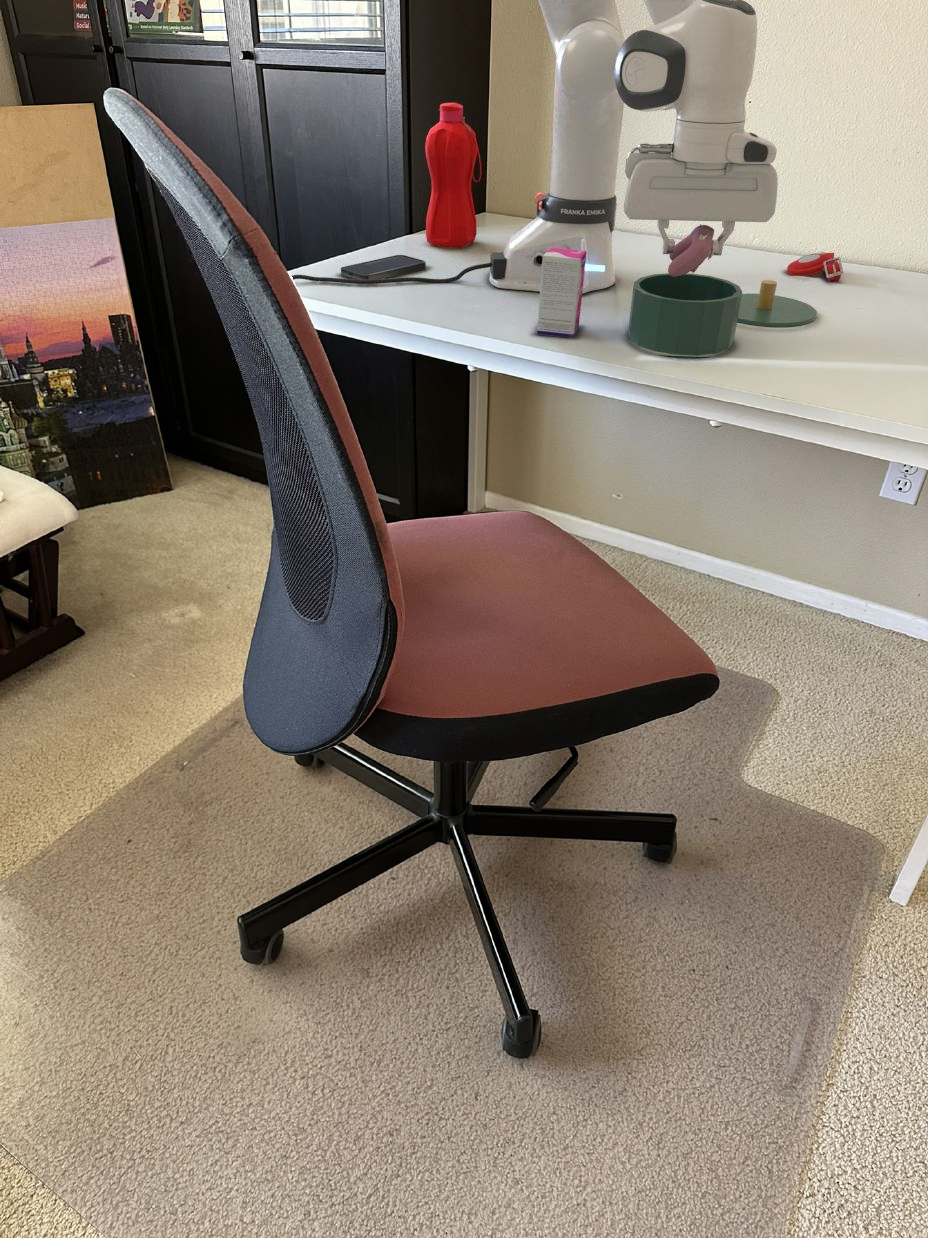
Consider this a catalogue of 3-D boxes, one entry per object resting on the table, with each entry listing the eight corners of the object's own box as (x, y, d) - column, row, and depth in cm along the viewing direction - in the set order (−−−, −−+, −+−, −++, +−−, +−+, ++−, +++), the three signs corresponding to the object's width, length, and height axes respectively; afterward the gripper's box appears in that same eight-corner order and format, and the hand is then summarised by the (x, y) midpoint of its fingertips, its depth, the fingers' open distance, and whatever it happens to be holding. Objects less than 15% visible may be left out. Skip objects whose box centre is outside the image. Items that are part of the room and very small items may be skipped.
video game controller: (693, 289, 125) (722, 242, 121) (664, 273, 125) (693, 225, 120) (693, 271, 133) (721, 226, 129) (666, 256, 132) (693, 210, 128)
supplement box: (574, 338, 135) (580, 258, 128) (535, 334, 136) (540, 255, 130) (580, 326, 140) (587, 249, 133) (543, 323, 141) (547, 246, 134)
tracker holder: (775, 267, 166) (805, 245, 170) (779, 290, 168) (808, 268, 172) (837, 264, 157) (867, 241, 161) (839, 289, 159) (869, 265, 163)
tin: (631, 356, 129) (638, 299, 124) (625, 324, 141) (630, 271, 136) (739, 360, 128) (750, 303, 123) (723, 327, 140) (732, 274, 135)
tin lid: (719, 328, 140) (725, 294, 137) (705, 299, 153) (710, 267, 150) (826, 332, 138) (834, 297, 135) (802, 302, 152) (809, 270, 149)
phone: (428, 261, 167) (365, 275, 158) (428, 267, 167) (365, 282, 159) (400, 253, 171) (337, 267, 162) (400, 260, 172) (338, 273, 163)
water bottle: (469, 252, 178) (471, 107, 163) (420, 245, 182) (418, 103, 167) (488, 242, 185) (492, 102, 170) (441, 236, 189) (440, 99, 174)
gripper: (629, 146, 117) (618, 257, 125) (789, 148, 116) (768, 261, 124) (626, 139, 122) (616, 246, 130) (780, 141, 121) (760, 250, 129)
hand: (691, 253), depth 127 cm, fingers closed on video game controller, 5 cm apart
